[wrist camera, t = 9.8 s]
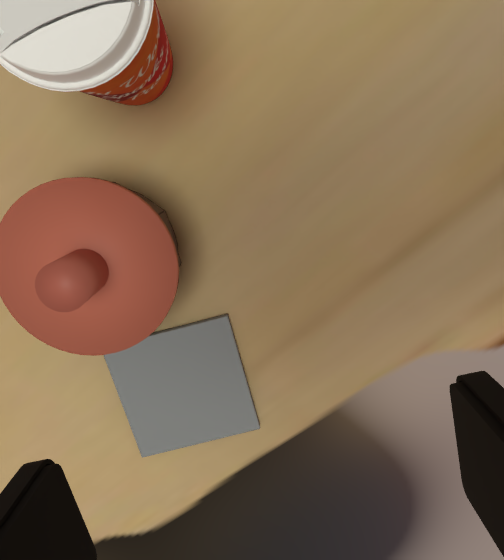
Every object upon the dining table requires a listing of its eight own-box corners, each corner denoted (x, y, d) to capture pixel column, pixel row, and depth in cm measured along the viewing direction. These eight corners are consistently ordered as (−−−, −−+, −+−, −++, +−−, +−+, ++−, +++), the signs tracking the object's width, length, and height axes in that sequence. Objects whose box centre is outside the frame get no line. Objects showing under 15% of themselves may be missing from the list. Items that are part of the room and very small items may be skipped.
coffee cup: (124, 144, 33) (34, 126, 19) (51, 46, 31) (-111, -58, 17) (213, 76, 32) (191, 1, 18) (143, -30, 30) (55, -209, 16)
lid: (147, 155, 28) (128, 153, 23) (200, 327, 31) (193, 355, 26) (-31, 204, 28) (-85, 211, 24) (38, 368, 31) (3, 403, 27)
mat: (227, 313, 37) (227, 316, 36) (259, 424, 40) (260, 428, 39) (103, 345, 37) (101, 348, 37) (143, 453, 40) (142, 457, 39)
